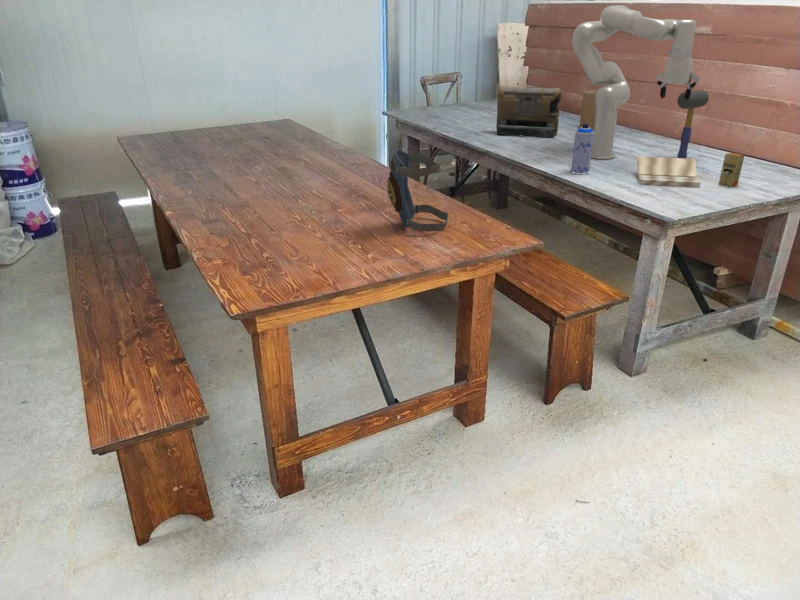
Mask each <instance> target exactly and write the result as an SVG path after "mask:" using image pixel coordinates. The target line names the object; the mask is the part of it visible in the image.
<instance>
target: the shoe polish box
mask: <svg viewBox="0 0 800 600" xmlns="http://www.w3.org/2000/svg"><path fill="white" fill-rule="evenodd" d="M745 156H746V155H745V154H743V153H738V152H737V153H736V152H728V153H725V154H724V159H723V164H722V167H721V172H720V176H719V181H718V185H719V186H722V185H723V186H722V187H726V186H728V187H727V188H730V187H731V188H733V187H732V186H734V187H736V186H735V185H737V186H738V184H739V181H740V176H741V172H742V169H743V168H742V167H743V163H744V159H745Z"/></svg>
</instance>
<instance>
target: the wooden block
mask: <svg viewBox="0 0 800 600" xmlns="http://www.w3.org/2000/svg"><path fill="white" fill-rule="evenodd" d="M598 90H599V89H589V90H585V91H583V95H582V103H581V109H580V110H581V112H580V120H579V128H581V127H583V124H589V125H588V127H590V128H591V129H592V130H593V128H594V120H595V96H596V93H597V91H598Z"/></svg>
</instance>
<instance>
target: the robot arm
mask: <svg viewBox="0 0 800 600" xmlns="http://www.w3.org/2000/svg"><path fill="white" fill-rule="evenodd" d="M696 27H697V21H696V20H695V19H675V18H674V19H673V18H671V19H669V18H668V19H656V18H651V17H646V16H643V14H642V12H641V11H640V10H635V9H631V8H629V7H628V6H627V5H623V4H620V5H618V4H617V5H615V4H614V5H609V6H607V7H605V8H604V9H603V10H602V11H601V13H600V19H599V20H592V21H585V22H584V21H583V22H582V23H580V24H579V25H578V26H577V27H575V29H574V31H573V34H572V40H571V42H572V44H571V45H572V47H573V51H574V53H575V55H576V56H577V58H578V60H579V62H580V64H581V66H582V68H583V70H584V72H585V75H586V76H587V79H588V80H589V82H590V84H592V85H593V86H600V87H599V88H598V89H597V90H598V91H597V93H596V96H595V120H594V128H593V131H594V138H593V145H592V153H591V159H594V158H596V160H612V159H614V158H616V154H615V153H614V152H613V148H614V141H615V134H616V126H617V119H618V113H617V106H620V105H623V104H626V102H628V100H629V99H630V96H631V90H630V86H629V84H628V82H627V80H626V78H625V76H624V74H623V72H622V70H621V68H620V67H619V65H618V64H617V63H615V62H614V61H604V59H603V57H602V56H601V53H600V52H599V50H598V49H597V47H595V45H594V44H593V43H595V42H601V41H604V40H607V39H608V38H610V37H611V36H613V35H615V33H618V32H619V31H621V32H624V33H629V34H632V35H634V36H636V37H638V38H639V37H640V38H642V39H647V40H651V41H657V42H658V41H665V40H666V41H667V40H672V44H671V49H670V50H667V54H668V55H669V56H670V57H668V58H667V60H666V63H665V67H664V71H663V72H662V73H660V74H657V75H656V76H655V79H656V83H657V84H658V86H659V89H660V92H659V96H660V99H664V98H665V97H666V93H667V87H666V86H667V85H685V87H686V89H685V91H684V92H685V100H687V99H689V97H690V96H691V91H692V89H693V88H695V87H696V86H697V84H698V83H699V82H700V80H701V77H700V76H698V75H697V74H695V73H693V72H694V71H693V69H694V68H693V67H694V64H693V63H694V62H693V61H694V60H693V57H692V53H693V52H692V51H693V45H694V41H695V39H694V38H695V34H696V33H695V32H696ZM661 79H662V80H661ZM692 79H694V81H693V82H692ZM602 85H603V86H602Z"/></svg>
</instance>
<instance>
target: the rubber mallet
mask: <svg viewBox="0 0 800 600" xmlns="http://www.w3.org/2000/svg"><path fill="white" fill-rule="evenodd" d="M685 92H686V91H684V92H681V93H680V94H679V96H678V97H677V106H678V107H679V108H680V109H683V110H685V109H688V110H687V114H686V117H685V118H686V119H685V123H684V127H683V129H682V132H681V136H680V145H679V149H678V153H677V157H676V158H685V159H687V158H688V148H689V143H690V139H691V135H692V123H693V117H694V112H695V109H697V108H700V107H701V108H702V107H704V106H706V105H707V104H708V102H709V98H710V97H709V94H708V92H707V91H706V90H704V89H699V90H697V89H696V90H692V89H691V96H690V97H689V99H687V100H685Z"/></svg>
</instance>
